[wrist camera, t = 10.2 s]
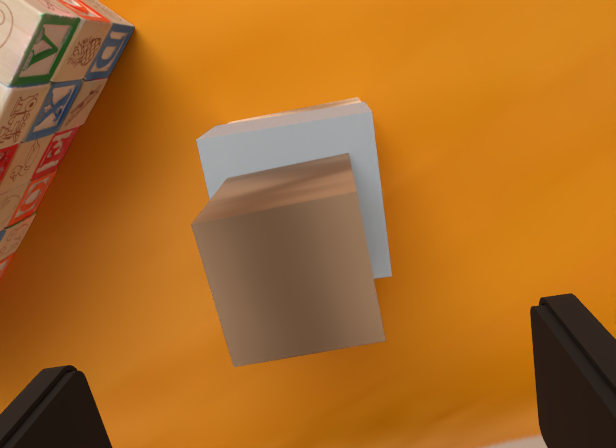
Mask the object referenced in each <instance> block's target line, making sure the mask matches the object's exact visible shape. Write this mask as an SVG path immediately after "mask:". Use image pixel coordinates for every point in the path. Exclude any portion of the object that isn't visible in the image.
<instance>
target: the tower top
mask: <svg viewBox="0 0 616 448" xmlns="http://www.w3.org/2000/svg"><path fill="white" fill-rule="evenodd" d="M196 142H197V146H198V150H199V155H200V159H201V164H202V168H203V172H204V177H205V181H206V186H207V190H208V194H209V199H211V198H212V197H213V196H214V194H215V193H216V192H217V190H218V189H219V188H220V186H221V185H222V184H223V183H224V181H225V180H226V179H227V178H229V177H234V176H239V175H244V174H248V173H253V172H258V171H263V170H268V169H273V168H277V167H282V166H287V165H292V164H297V163H301V162H306V161H311V160H316V159H321V158H326V157H330V156H335V155H340V154H345V153H349V157H350V162H351V167H352V171H353V176H354V181H355V185H356V190H357V195H358V200H359V205H360V210H361V215H362V221H363V226H364V231H365V236H366V241H367V246H368V251H369V257H370V262H371V267H372V272H373V277H374V279H376V278H383V277H391V276H392V271H391V263H390V255H389V246H388V238H387V230H386V222H385V214H384V206H383V198H382V189H381V181H380V173H379V165H378V157H377V149H376V141H375V132H374V124H373V116H372V111H371V110H370V108H369V107H368V106H367V104H366V103H365V102H360V103H354V104H348V105H342V106H335V107H329V108H323V109H317V110H311V111H304V112H298V113H292V114H286V115H280V116H273V117H267V118H261V119H255V120H249V121H243V122H236V123H230V124H224V125H218V126H215V127H213V128H212V129H211V130H209V131H208V132H206V133H205V134H204V135H202V136H201V137H199V138H198V139H196Z"/></svg>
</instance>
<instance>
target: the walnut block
mask: <svg viewBox="0 0 616 448" xmlns="http://www.w3.org/2000/svg"><path fill="white" fill-rule="evenodd" d="M191 225H192V229H193V232H194V235H195V239H196V242H197V246H198V249H199V252H200V256H201V259H202V262H203V266H204V269H205V272H206V276H207V279H208V282H209V286H210V289H211V292H212V296H213V299H214V302H215V306H216V309H217V312H218V316H219V319H220V322H221V326H222V329H223V333H224V336H225V339H226V343H227V346H228V349H229V353H230V356H231V359H232V363H233V366H234V367H238V366H244V365H249V364H255V363H261V362H267V361H273V360H279V359H284V358H290V357H296V356H302V355H308V354H313V353H319V352H325V351H331V350H337V349H343V348H348V347H354V346H360V345H366V344H372V343H378V342H383V341H386V339H385V334H384V329H383V324H382V318H381V313H380V308H379V303H378V298H377V293H376V288H375V282H374V277H373V272H372V267H371V262H370V257H369V251H368V246H367V241H366V236H365V231H364V226H363V221H362V215H361V210H360V205H359V200H358V195H357V190H356V185H355V181H354V176H353V171H352V167H351V162H350V157H349V153H345V154H340V155H335V156H330V157H326V158H321V159H316V160H311V161H306V162H301V163H297V164H292V165H287V166H282V167H277V168H273V169H268V170H263V171H258V172H253V173H248V174H244V175H239V176H234V177H229V178H227V179H226V180H225V181H224V183H223V184H222V185H221V186H220V188H219V189H218V190H217V192H216V193H215V194H214V196H213V197H212V198H211V199H210V201H209V202H208V203H207V205H206V206H205V207H204V209H203V210H202V211H201V212H200V214H199V215H198V216H197V218H196V219H195V220H194V222H193V223H192V224H191Z"/></svg>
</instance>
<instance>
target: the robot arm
mask: <svg viewBox="0 0 616 448" xmlns="http://www.w3.org/2000/svg"><path fill="white" fill-rule="evenodd" d="M530 315H531V328H532V341H533V354H534V367H535V380H536V393H537V405H538V418H539V425H540V430H541V433H542V436H543V439H544V441H545V443H546V445H547V447H548V448H616V339H615V338H614V337H613V336H612V335H611V334H610V333H609V332H608V331H607V330H606V329H605V327H604V326H603V325H602V324H601V323H600V322H599V321H598V320H597V319H596V318H595V317H594V316H593V315H592V313H591V312H590V311H589V310H588V309H587V308H586V307H585V306H584V305H583V304H582V303H581V302H580V301H579V300H578V298H577V297H576V296H575V295H573V294H572V293H571V294H563V295H556V296H549V297H542V298H541V299H540V301H539V306H532V307H531V310H530ZM0 448H112V446H111V443H110V440H109V438H108V435H107V433H106V430H105V427H104V425H103V422H102V419H101V417H100V414H99V411H98V409H97V406H96V403H95V401H94V398H93V395H92V393H91V390H90V387H89V385H88V382H87V379H86V377H85V375H84V373H83V372H81V371H77V369H76V368H75V367H74V366H71V365H68V366H61V367H54V368H47V369H43V370H42V371H41V372H40V373H39V374H38V375H37V376H36V377H35V378H34V379H33V380H32V381H31V382H30V383H29V384H28V385H27V386H26V388H25V389H24V390H23V391H22V392H21V393H20V394H19V395H18V396H17V397H16V398H15V399H14V400H13V401H12V403H11V404H10V405H9V406H8V407H7V408H6V409H5V410H4V411H3V412H2V413H1V414H0Z"/></svg>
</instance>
